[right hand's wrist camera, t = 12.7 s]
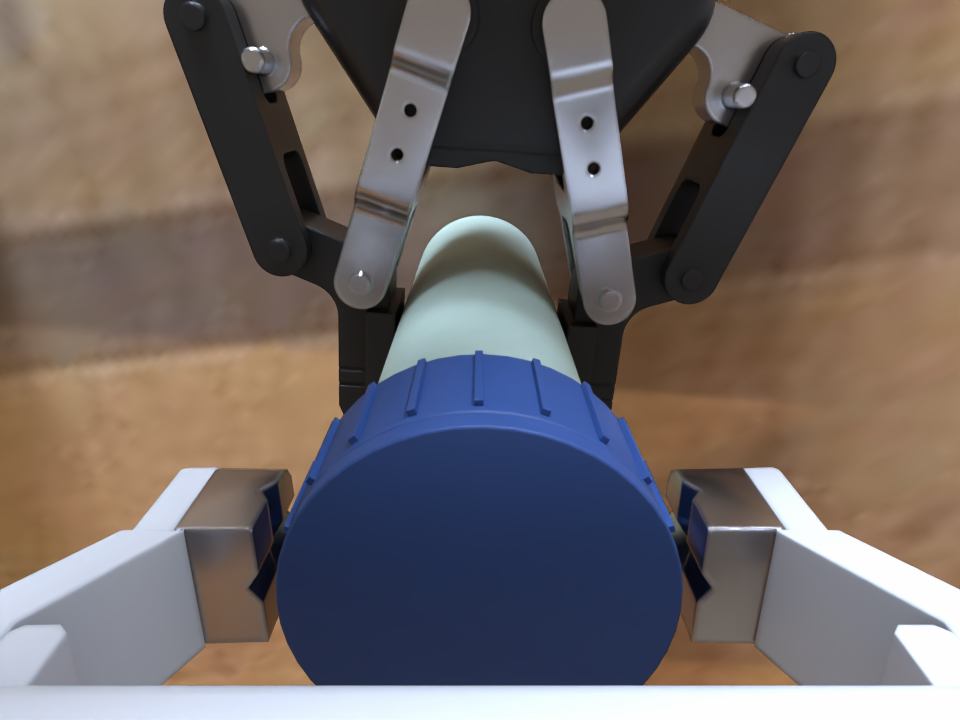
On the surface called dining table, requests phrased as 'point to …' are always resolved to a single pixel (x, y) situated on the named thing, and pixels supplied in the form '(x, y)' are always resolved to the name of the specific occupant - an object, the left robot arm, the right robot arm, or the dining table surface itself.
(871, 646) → the right robot arm
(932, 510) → the dining table surface
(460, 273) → the jar
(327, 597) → the lid
